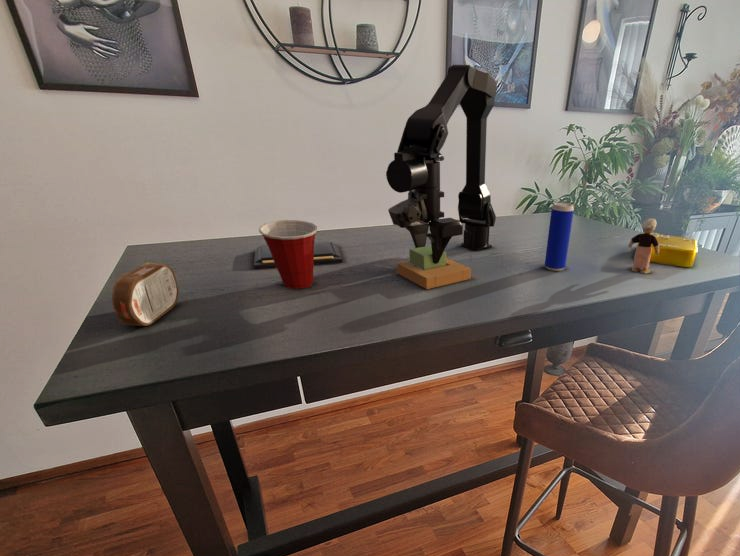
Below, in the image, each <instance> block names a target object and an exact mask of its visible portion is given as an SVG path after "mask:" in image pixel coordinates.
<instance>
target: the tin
mask: <svg viewBox="0 0 740 556" xmlns="http://www.w3.org/2000/svg"><path fill="white" fill-rule="evenodd" d="M178 298H179V287H178V282H177V278H176V274H175V271H174V269H173V268H172V267H170V265H168V264H165V263H157V262H151V261H149V262H145V263H143V264H141V265H139V266H138V267H136V268H134V269H132V270H130V271H128V272H126V273H124V274H122V275H121V276H119V277H118V278H117V279H116V281H115V283H114V285H113V288H112V293H111V300H112V307H113V311H114V313H115V315H116V317H117V318H118V320H119V321H120V322H121V323H122V324H123V325H126V326H128V327H133V326H134V327H147V326H151V325H153V324H154V323H155V322H157V321H158V320H159V319H160V318H161V317H163V316H164V315H165V314H167V313H169V312H170V311H171V310H172V309H173V308H174V307H175V306H176V303H177V302H178Z"/></svg>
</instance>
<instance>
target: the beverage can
mask: <svg viewBox="0 0 740 556" xmlns="http://www.w3.org/2000/svg"><path fill="white" fill-rule="evenodd" d="M574 208H575V207H574V204H572V203H568V202H567V203H566V202H554V203H552V206H551V209H550V218H549V226H548V236H547V242H546V252H545V259H544V260H545V261H544V266H545V269H547V270H549V271H552V272H553V271H554V272H558V271H559V272H560V271H563V270H564V269H565V268H566V267H567V266H566V265H567V259H568V251H569V246H570V237H571V233H572V226H573V225H572V224H573V218H574V211H575V209H574Z"/></svg>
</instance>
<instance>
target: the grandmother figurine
mask: <svg viewBox="0 0 740 556" xmlns="http://www.w3.org/2000/svg"><path fill="white" fill-rule="evenodd" d="M656 227H657V220H656V218H653V217H650V218H647V219H645V220H644V221H643V223H642V224H641V226H640V228H642V231H643V233H638V234H636V235H635V236H633V237H632V238H631V239H630V241H629V243H628V244H627V247H628V248H632V247H633V246H634V244H638V243H639V244H638V246H637V245H636V248H637V249H635V253H634V258H633V262H632V267H631V272H634V273H638V272H640V273H641V274H650V273H651V270H650V269H649V267H650V263H651V262H650V257H651V250H652V248H651V244H652V245H653V246H654V249H655V253H656V254H658V253H659V244H658V241H657V239H656V237H655V236H653V235H651V233H654V231H655V230H656Z"/></svg>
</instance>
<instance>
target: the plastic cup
mask: <svg viewBox="0 0 740 556" xmlns="http://www.w3.org/2000/svg"><path fill="white" fill-rule="evenodd" d="M258 232H259V233H260V234H261V236H262V237H263V239H264V241H265V244H266V245H268V247H269V250H270V252H271V255H272V257H273V260H274V262H275V265H276V267H275V268H276V270H277V271H278V273H279V276H280V279H281V282H282V284H283V285H284V287H286V288H287V289H295V290H297V289H305V288H309V287H311V286H312V285H313V284H314V265H315V264H314V242H315V239H316V233H317V232H318V226H317V225H316V224H315V223H313V222H309V221H307V220H300V219H281V220H273V221H270V222H265V223H264V224H262V225H260V226H259V228H258Z"/></svg>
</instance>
